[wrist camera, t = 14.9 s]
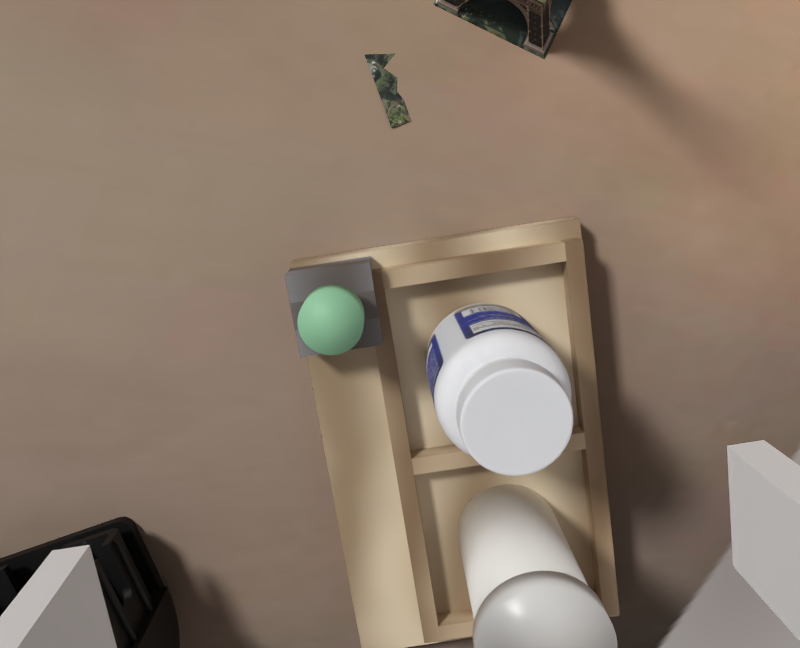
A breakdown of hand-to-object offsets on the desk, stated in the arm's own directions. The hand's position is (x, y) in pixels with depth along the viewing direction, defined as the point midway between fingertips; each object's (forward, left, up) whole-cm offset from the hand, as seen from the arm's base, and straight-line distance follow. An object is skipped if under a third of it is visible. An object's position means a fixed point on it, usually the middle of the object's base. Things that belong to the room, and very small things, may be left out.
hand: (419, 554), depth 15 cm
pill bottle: (+4, -2, -20) cm, 20 cm away
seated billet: (+4, -11, -19) cm, 22 cm away
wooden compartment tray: (+2, -6, -21) cm, 22 cm away
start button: (-3, +2, -19) cm, 19 cm away
